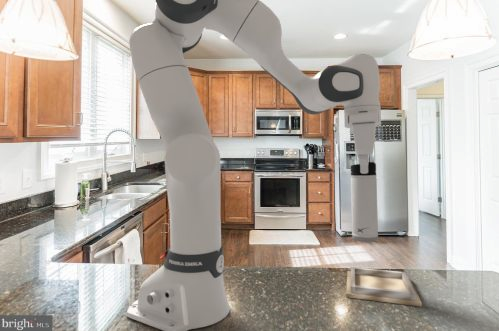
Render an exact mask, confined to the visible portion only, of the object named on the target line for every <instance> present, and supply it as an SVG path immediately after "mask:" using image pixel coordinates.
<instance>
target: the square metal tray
mask: <svg viewBox="0 0 499 331" xmlns="http://www.w3.org/2000/svg"><path fill="white" fill-rule="evenodd" d="M346 276H347V277H346V292H345V295H346V296H345V298H350V299H359V300H366V301H367V300H368V301H375V302H382V303H391V304H399V305H406V306H412V307H413V306H414V307H415V306H416V307H421V308H422V305H423V303H422V301H421V299H420V296H419V294H418V293H417V290H416V289H415V286H414V285H413V282H412V280H411V278H410V276H408V275H407V272H406V271H396V270H388V269H387V270H385V269H377V268H376V269H374V268H366V267H365V268H363V267H352V266H351V267H350V270H347V274H346Z"/></svg>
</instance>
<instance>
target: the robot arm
mask: <svg viewBox="0 0 499 331" xmlns="http://www.w3.org/2000/svg"><path fill="white" fill-rule="evenodd" d="M154 4H155V7H154V8H155V12H154V13H155V14H154V15H155V19H154V20H153V21H152V22H151V23H146V24H142V25H140V26H138V27H136V28H135V29H134V30H133V31H132V33H131V34H130V37H129V42H128V44H129V45H128V46H129V49H130V51H129V52H130V56H131V61H132V65H133V69H134V72H135V75H136V76H135V77H136V79H137V81H138V82H137V83H138V85H139V87H140V89H141V92H142V95H143V98H144V101H145V103H146V106H147V107H146V108H147V109H148V112H149V114H150V117H151V119H152V121H153V124H154V126H155V128H156V129H157V132H158V134H159V136H160V138H161V140H162V143H163V145H164V147H165V153H164V169H165V170H164V171H165V181H166V182H165V183H166V191H167V192H166V194H167V201H168V208H169V209H168V210H169V231H170V232H169V233H170V234H169V235H170V237H169V238H170V241H169V242H170V243H169V244H170V247H169V248H167V249H166V250H165V251H163V252H162V253H159V256H160V257H159V259H160V260H162V259H164V258H165V260H164V262H163V265H162V266H161V267H159V268H158V269H156V271H154V272H153V273H152V274H150V276H149V277H147V278H145V280H144V281H143V282H142V283H141V285H140V287H139V291H138V296H137V300H135V301H134V302H133V303H132V304H131V305H129V307H127V311H126V317H127V318H129V319H132V320H135V321H137V322H140V323H143V324H145V325H147V326H150V327H153V328H155V329H158V330H161V331H189V330H192V329H193V330H194V329H199V328H205V327H208V326H211V325H214V324H217V323H219V322H221V321H222V320H223V319H225V318H226V317H227V316H228V314H229V313H230V309H231V306H230V304H229V300H228V297H227V294H226V288H225V281H224V267H225V260H224V259H225V258H224V246H223V245H222V228H221V227H222V220H221V209H222V208H221V202H222V200H221V189H222V188H221V156H220V155H221V154H220V151H219V148H218V146H217V145H216V143H215V142H214V139H213V136H212V133H211V130H210V126H209V124H208V121H207V119H206V115H205V112H204V109H203V106H202V102H201V100H200V98H199V95H198V92H197V89H196V86H195V84H194V81H193V79H192V78H193V77H192V75H191V73H190V70H189V67H188V65H187V62H186V60H185V56H184V54H185V53H187V52H190V51H191V50H192V49H194V48H196V46H197V45H199V43H200V41H201V39H202V36H203V32H204V29H205V30H211V31H215V32H217V33H219V34H221V35H223V36H224V37H225V38H226V39H227V40H228V41H229V42H232V43H233V44H234V45H236V46H237V47H238V48H239V49H240V50H242V51H243V52H244V53H246V54H247V55H248V56H249V57H250V58H252V60H253V61H255V62H256V63H257V64H258V65H259V66H260V67H261V69H263V70H264V71H265V72H266V73H267V74H268V75H269V76H270V77H271V78H272V79H274V80H275V81H276V82H277V83H278V84H280V85H281V86H282V87H283V88H284V89H285V90H286V91H288V93H290V94H291V96H292V97H293V98H294V100H295V102H296V103H297V105H298V107H300V109H301V110H302V111H303V112H305V113H307V114H309V115H313V116H315V115H320V114H323V113H324V112H326V111H327V110H329V109H332V108H334V107H336V106H339V105H342V106H343V107H344V109H343V111H344V112H343V113H344V128H346V129H349V134H352V135H353V136H352V137H353V142H354V148H355V149H354V151H355V152H354V153H355V156H358V164H360V172H361V173H362V174H367V173H368V162H370V158H369V157H370V155H373V153H374V147H375V137H376V132H377V127H379V126H381V125H382V112H381V111H382V110H381V109H382V108H381V102H380V98H379V96H380V91H381V77H380V70H379V65H378V63H377V60H376V58H375V57H373V56H372V55H369V54H366V53H358V54H353V55H350V56H348V57H346V58H345V60H343V61H342V62H340V63H337V64H333V65H328V66H327V67H325V68H323V69H322V70H320V71H319V72H317V73H316V74H315V75H314V76H310V75H307V74H305V73H304V72H303V71H302V70H301V69H299V68H298V66H296V65H295V63H293V62H292V61H291V60H290V59H289V58H288V57H287V56H286V55H285V52H284V50H283V47H282V36H283V35H282V25H281V22H280V19H279V18H278V16H277V15H276V14H275V13H274V11H273V10H272V9H271V8H270V7H269V6H267V5H266V4H265V3H264V2H263V1H261V0H155V3H154Z"/></svg>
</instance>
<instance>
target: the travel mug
mask: <svg viewBox="0 0 499 331" xmlns="http://www.w3.org/2000/svg"><path fill="white" fill-rule="evenodd" d="M377 181H378V180H377V163H376V162H373V161H369V162H368V173H367V174H362V173H361V172H360V164H359V163H357V164H352V165H350V198H351V199H350V200H351V202H350V203H351V204H350V206H351V238H352V239H353V240H354V241H357V242H361V243H374V242H377V241H378V240H379V234H378V233H379V227H378V226H379V224H378V187H377V186H378V185H377V183H378V182H377Z"/></svg>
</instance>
